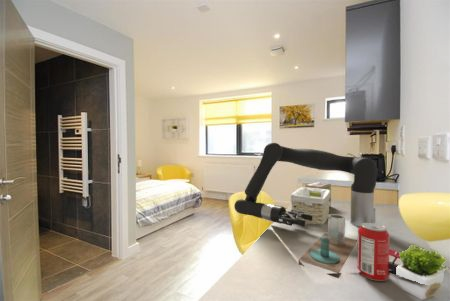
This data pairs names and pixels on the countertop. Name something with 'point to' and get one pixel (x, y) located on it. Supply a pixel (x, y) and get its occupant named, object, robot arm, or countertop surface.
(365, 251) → the soda can
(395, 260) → the calculator
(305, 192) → the storage basket
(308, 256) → the jig board
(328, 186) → the tea box
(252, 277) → the countertop surface
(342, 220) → the sleeve
